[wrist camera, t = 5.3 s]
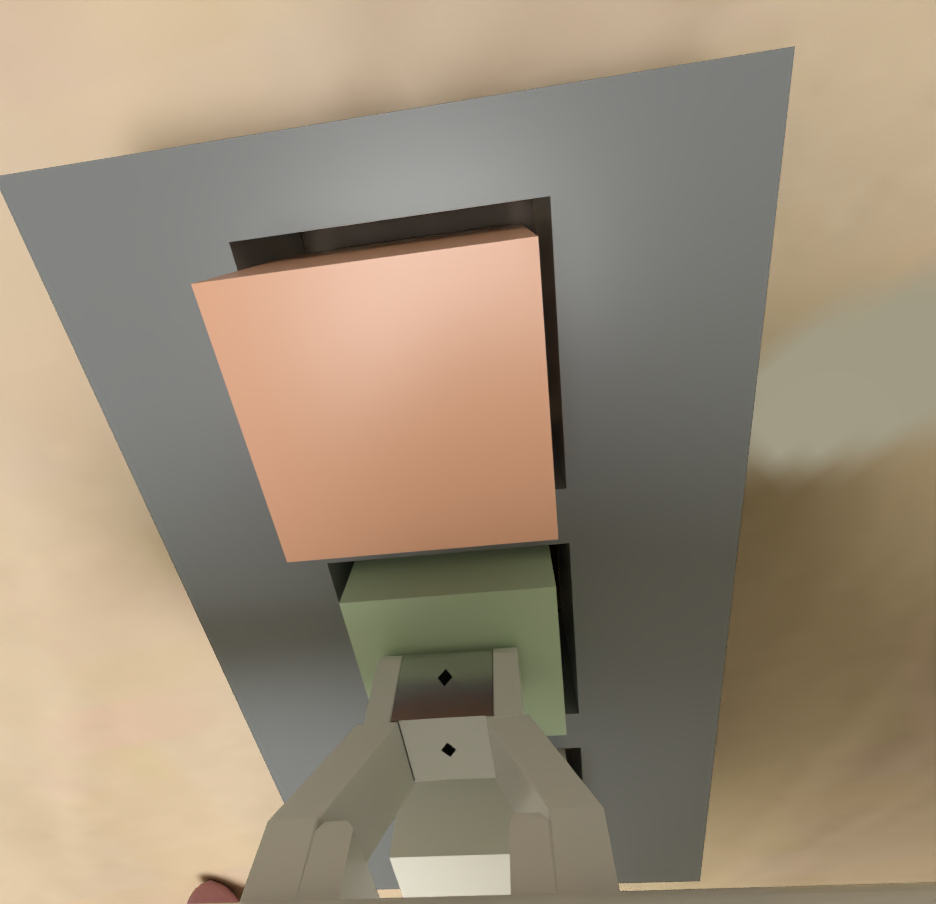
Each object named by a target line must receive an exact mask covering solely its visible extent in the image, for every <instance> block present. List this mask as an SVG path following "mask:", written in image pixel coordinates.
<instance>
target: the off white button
mask: <svg viewBox="0 0 936 904" xmlns="http://www.w3.org/2000/svg"><path fill="white" fill-rule="evenodd" d="M557 750H558V751H559V753H560V754H561V755H562V756H563V758H564V759H565V760H566V752H565V748H559V749H557ZM566 761H567V760H566ZM414 784H415V786H414V787H413V789H412V790H411V792H410V794H409V795H408V797H407V799H406V800H405V802H404V803H403V805H402V807H401V808H400V810H399V811H398V813H397V815H396V817H395V824H394V831H393V837H392V844H391V850H390V857H389V858H390V861H391V864H392V867H393V870H394V873H395V876H396V878H397V881H398V884H399V887H400V890H401V893H402V896H403V898H405V897H440V896H476V895H511V885H510V838H509V821H510V820H511V819H512V818H513V816H514V815H515V812H514V810H513V808H512V807H511V805H510V803H509V802H508V800H507V798H506V796H505V795H504V793H503V791H502V789H501V788H500V786H499V784H498V782H497V781H496V778H484V779H449V780H437V781H424V782H414Z"/></svg>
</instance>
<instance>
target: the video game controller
mask: <svg viewBox="0 0 936 904" xmlns="http://www.w3.org/2000/svg"><path fill="white" fill-rule="evenodd" d="M238 902H239V901H238V899H237V898H236V897H235V895H234V894H233V893H232V891H231V890H230V889H229V888H227V887H226V886H225V885H224V884H222V883H219V882H217V881H212V880H209V881H207V882H205V883H203V884H201V885H200V886H198V887H197V888H196V889H195V890H194V891H193V893H192V894H191V896H190V898H189V900H188V903H187V904H204V903H238Z"/></svg>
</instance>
